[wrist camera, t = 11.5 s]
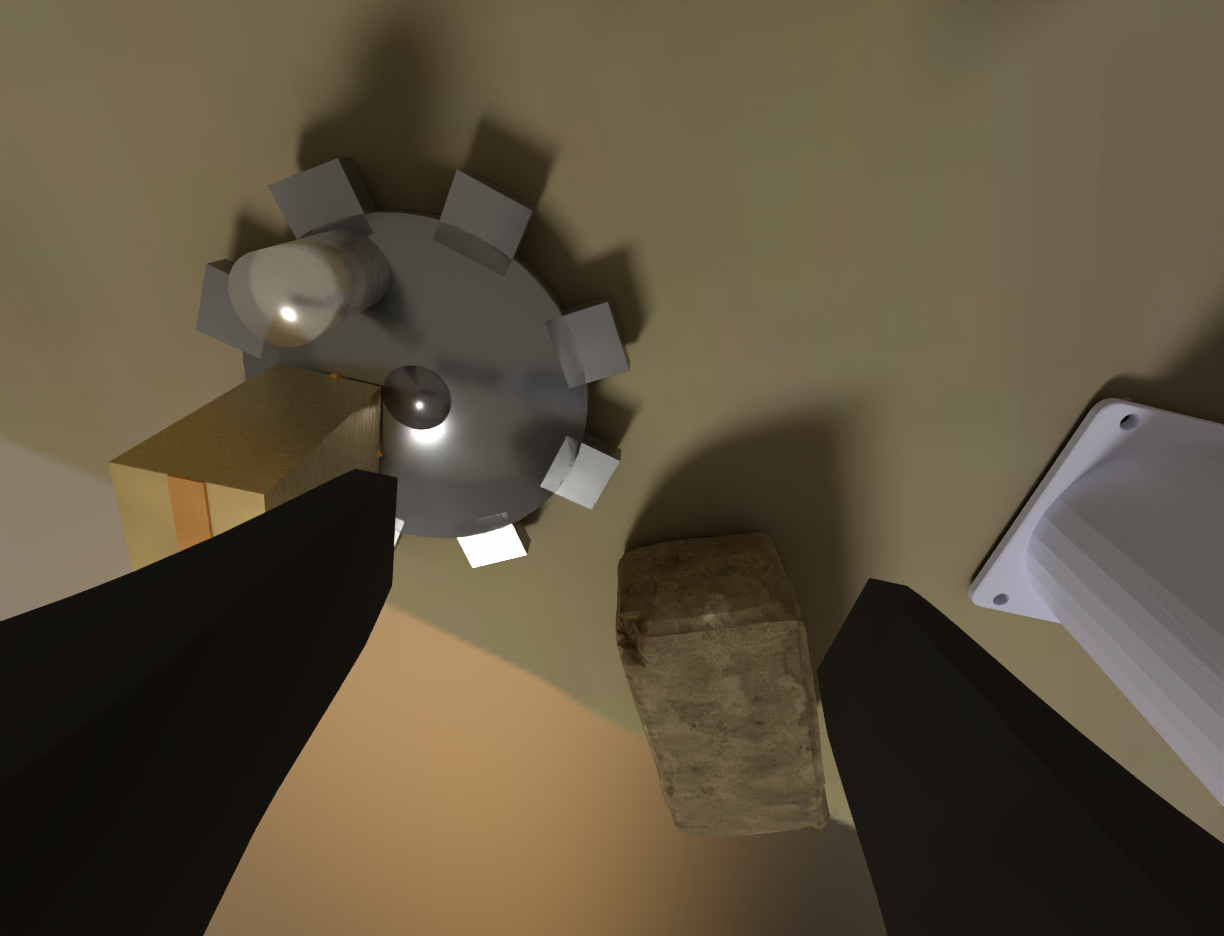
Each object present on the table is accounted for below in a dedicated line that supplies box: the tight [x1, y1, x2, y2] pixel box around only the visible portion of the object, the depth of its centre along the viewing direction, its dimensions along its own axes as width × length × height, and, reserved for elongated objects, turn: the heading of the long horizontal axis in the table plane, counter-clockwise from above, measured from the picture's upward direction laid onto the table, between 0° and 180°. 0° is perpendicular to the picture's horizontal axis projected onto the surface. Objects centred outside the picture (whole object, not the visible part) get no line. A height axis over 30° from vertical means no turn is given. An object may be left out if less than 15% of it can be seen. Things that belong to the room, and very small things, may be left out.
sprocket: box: [196, 158, 630, 567], centre depth 16 cm, size 12×12×4 cm
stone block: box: [616, 532, 830, 836], centre depth 21 cm, size 6×12×5 cm, turn 15°
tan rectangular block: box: [109, 363, 381, 572], centre depth 15 cm, size 3×4×6 cm, turn 167°
